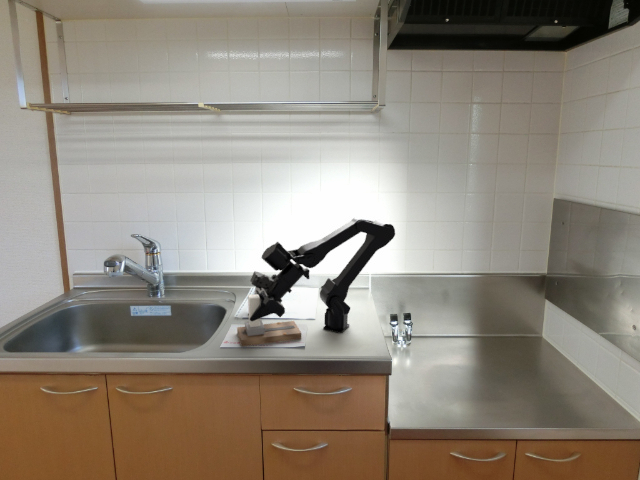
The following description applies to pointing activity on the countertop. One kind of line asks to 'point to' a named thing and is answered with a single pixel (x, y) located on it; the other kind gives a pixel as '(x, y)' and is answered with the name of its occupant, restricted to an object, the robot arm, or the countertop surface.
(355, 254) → the robot arm
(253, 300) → the fader tab
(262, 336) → the brown slider track board
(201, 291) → the countertop surface
